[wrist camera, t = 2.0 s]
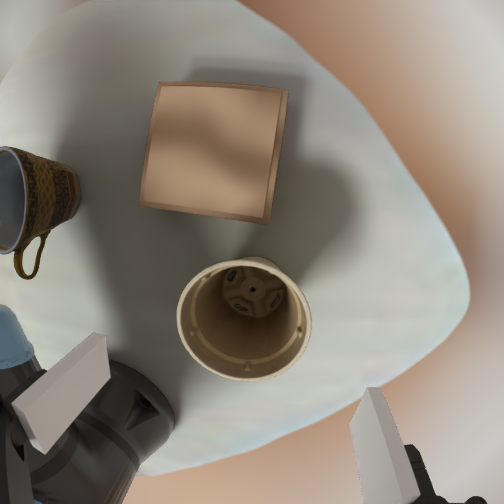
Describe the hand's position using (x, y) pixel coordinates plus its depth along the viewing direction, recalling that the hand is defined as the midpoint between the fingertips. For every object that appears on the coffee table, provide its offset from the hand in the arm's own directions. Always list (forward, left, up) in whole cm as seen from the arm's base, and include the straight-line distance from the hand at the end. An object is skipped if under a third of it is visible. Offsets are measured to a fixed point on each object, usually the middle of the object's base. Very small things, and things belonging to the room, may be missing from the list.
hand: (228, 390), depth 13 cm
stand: (+12, +5, -16) cm, 20 cm away
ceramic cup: (+5, +23, -16) cm, 28 cm away
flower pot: (0, 0, -16) cm, 16 cm away
